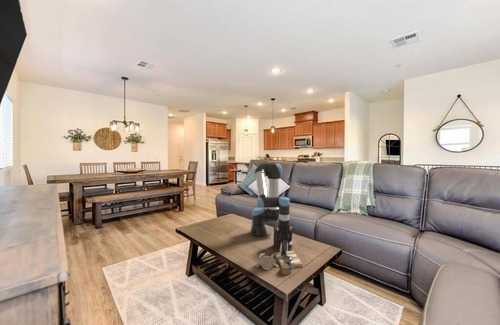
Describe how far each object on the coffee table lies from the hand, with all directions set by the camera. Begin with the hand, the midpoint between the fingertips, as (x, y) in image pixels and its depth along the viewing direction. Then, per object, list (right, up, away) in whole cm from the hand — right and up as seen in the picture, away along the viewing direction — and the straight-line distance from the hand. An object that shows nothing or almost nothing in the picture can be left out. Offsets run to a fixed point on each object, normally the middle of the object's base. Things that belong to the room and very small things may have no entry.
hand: (283, 250), depth 155 cm
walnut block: (-2, -7, -17) cm, 18 cm away
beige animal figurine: (-12, -6, -10) cm, 17 cm away
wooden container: (+2, -4, +16) cm, 16 cm away
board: (+3, -5, -3) cm, 7 cm away
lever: (+1, -3, -8) cm, 8 cm away
